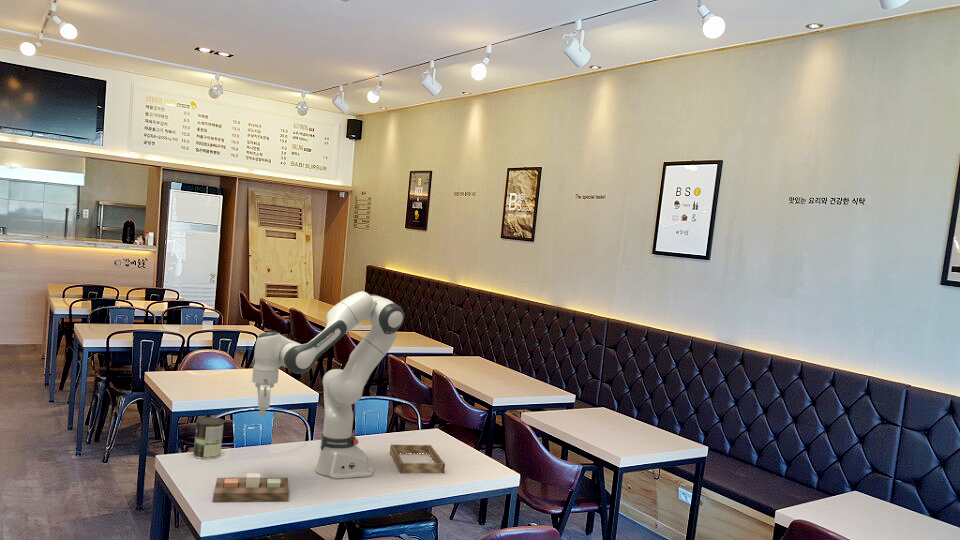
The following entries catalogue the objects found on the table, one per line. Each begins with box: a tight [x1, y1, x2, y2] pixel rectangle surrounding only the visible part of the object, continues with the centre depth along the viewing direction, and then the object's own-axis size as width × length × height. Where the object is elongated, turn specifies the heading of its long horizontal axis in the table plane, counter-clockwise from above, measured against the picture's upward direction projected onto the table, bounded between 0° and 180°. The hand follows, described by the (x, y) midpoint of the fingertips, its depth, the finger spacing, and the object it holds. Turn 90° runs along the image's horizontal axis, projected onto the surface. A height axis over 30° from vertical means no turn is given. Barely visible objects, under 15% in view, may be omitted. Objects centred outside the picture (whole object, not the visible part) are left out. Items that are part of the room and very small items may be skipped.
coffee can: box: [192, 416, 225, 460], centre depth 270 cm, size 10×10×14 cm
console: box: [212, 477, 290, 503], centre depth 236 cm, size 24×15×3 cm, turn 107°
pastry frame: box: [389, 444, 446, 475], centre depth 287 cm, size 18×26×4 cm
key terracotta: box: [224, 479, 238, 488], centre depth 233 cm, size 4×4×4 cm
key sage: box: [267, 479, 281, 488], centre depth 238 cm, size 4×4×4 cm
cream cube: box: [245, 472, 261, 488], centre depth 236 cm, size 4×4×4 cm
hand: (262, 415), depth 244 cm, fingers closed
